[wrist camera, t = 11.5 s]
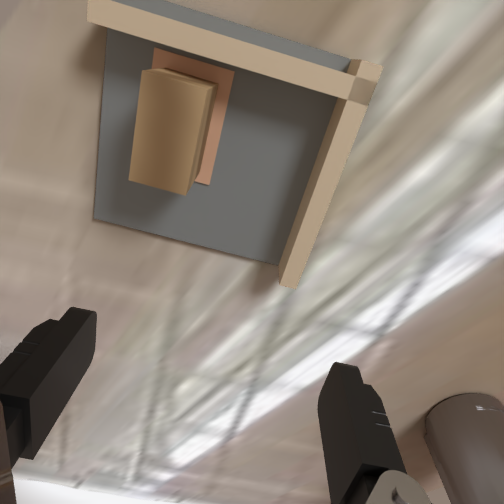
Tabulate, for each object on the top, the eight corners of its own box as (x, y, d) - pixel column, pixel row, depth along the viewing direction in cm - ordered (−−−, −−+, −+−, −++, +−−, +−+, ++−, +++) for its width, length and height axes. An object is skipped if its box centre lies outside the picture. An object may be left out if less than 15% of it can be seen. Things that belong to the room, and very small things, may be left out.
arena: (293, 266, 36) (295, 289, 32) (96, 215, 34) (76, 234, 31) (368, 65, 27) (383, 66, 24) (113, -15, 26) (89, -26, 22)
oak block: (218, 83, 28) (207, 90, 22) (199, 171, 31) (185, 195, 26) (166, 67, 27) (142, 70, 22) (152, 158, 31) (128, 180, 25)
